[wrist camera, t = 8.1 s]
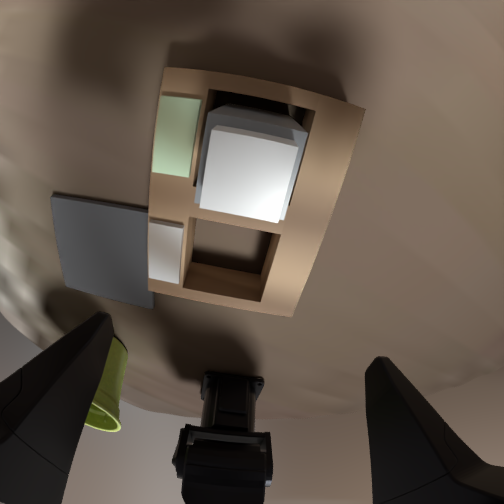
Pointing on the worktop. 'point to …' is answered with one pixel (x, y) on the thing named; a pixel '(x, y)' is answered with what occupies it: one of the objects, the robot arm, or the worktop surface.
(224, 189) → the plug
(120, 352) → the plant pot
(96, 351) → the robot arm
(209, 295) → the socket block
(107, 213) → the pad
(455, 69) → the worktop surface
